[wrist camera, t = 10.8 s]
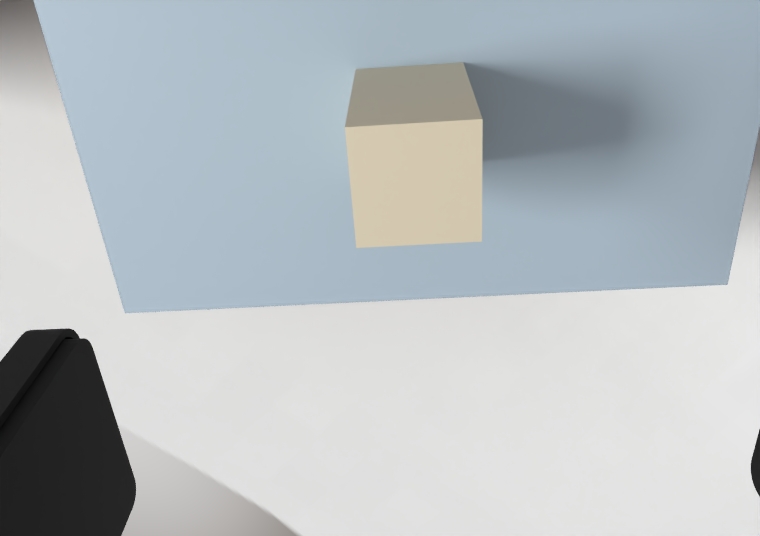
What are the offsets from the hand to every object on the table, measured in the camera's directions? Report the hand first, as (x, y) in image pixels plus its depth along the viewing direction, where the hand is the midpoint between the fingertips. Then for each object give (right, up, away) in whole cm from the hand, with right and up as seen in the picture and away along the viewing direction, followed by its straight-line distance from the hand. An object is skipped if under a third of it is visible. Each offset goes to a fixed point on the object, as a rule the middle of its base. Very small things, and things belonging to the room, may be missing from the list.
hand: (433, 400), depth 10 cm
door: (0, +7, +12) cm, 14 cm away
